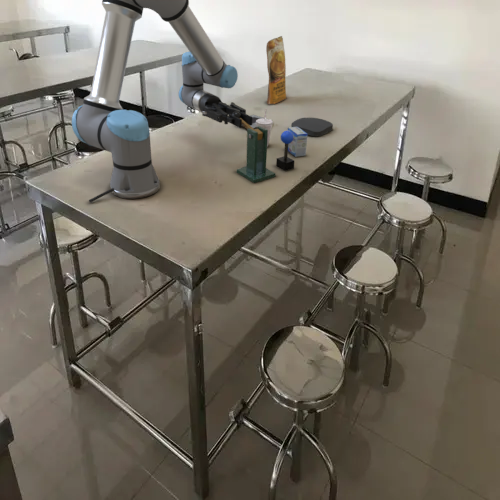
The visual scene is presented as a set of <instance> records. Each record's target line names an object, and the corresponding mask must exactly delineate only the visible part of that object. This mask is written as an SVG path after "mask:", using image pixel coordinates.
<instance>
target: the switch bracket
mask: <svg viewBox="0 0 500 500" xmlns="http://www.w3.org/2000/svg"><path fill="white" fill-rule="evenodd" d="M256 129H259V130H260V131H261V132H263V136H262V139H261V140H258V132H256V131H254V130H252V129H250V128H249V129H247V128H246V164H245V165H246V166H243V167H239V168H237V169H236V173H237V174H239V175H240V176H242V177H244V179H247V180H248V181H250V182H252V183H253V184H256V183H259V182H262V181H265V180H270V179H272V178H275V177H276V172H274V171H272V170H270V169H269V168H267V156H268V155H267V154H268V147H267V137H268V130H267V129H265V128H263V127H261V126H257V128H256Z"/></svg>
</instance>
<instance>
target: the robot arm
mask: <svg viewBox="0 0 500 500" xmlns="http://www.w3.org/2000/svg"><path fill="white" fill-rule="evenodd" d="M101 5H102V7H103V9H104V11H105V16H104V20H103V24H102V29H101V36H100V42H99V46H98V51H97V57H96V63H95V67H94V73H93V79H92V82H91V89H90V93H89V95H87V96H85V97H84V98H83V102H82V105H80V106H78V107H77V108H76V109H75V110H74V111H73V113H72V117H71V128H72V131H73V133H74V135H75V136H76V138H77V139H78V140H79V141H81V142H82V143H85V145H88V146H89V147H94V148H98V149H100V150H102V151H105V152H109V153H110V154H111V158H112V160H111V161H112V167H113V168H112V172H111V176H110V182H109V189H108V190H106V191H104V192H101V193H100V194H98V195H96V196H94V197H92V198H91V199H89V200H88V202H89V203H92V202H94V201H96V200H98V199H100V198H102V197H103V196H106V195H108V194H110V193H111V194H112V195H114V196H115V197H118V198H122V199H127V200H128V199H129V200H134V199H135V200H136V199H143V198H147V197H150V196H152V195H154V194H156V193H158V191H159V190H160V188H161V184H160V183H161V182H160V181H161V180H160V178H159V176H158V173H157V172H156V170H155V168H154V165H153V159H152V147H151V131H150V127H149V121H148V119H147V117H146V116H145V115H144V114H142V113H141V112H139V111H137V110H132V109H129V110H127V109H124V108H123V106H122V105H121V103H120V100H121V99H120V98H121V94H122V90H123V83H124V80H125V74H126V69H127V64H128V59H129V54H130V49H131V46H132V45H131V44H132V39H133V34H134V29H135V25H136V22H137V21H138V20H140V19H141V18H143V12H144V9H148V10H151V11H153V12H155V13H156V14H158V16H159V17H160V19H161V20H162V21H164V22H167V23H169V25H170V26H171V28H172V29H173V31H174V32H175V33H176V35H177V36H178V38H179V39H180V40H181V42H182V43H183V44H184V46H185V47H186V49H187V50H188V51H185V52H183V53H182V55H181V72H182V73H181V74H182V85H181V86H180V88H179V91H178V98H179V100H180V101H181V102H182V103H183V104H184V105H185V106H187V107H189V108H192V109H194V110H196V111H198V112H200V113H201V114H202V115H201V116H202V117H206V118H209V119H211V120H212V121H215V122H217V123H223V122H224V124H223V125H228V124H231V125H233V126H235V127H237V128H239V129H241V128H243V126H242V119H243V120H244V121H245V122H246V123H247V124H249V125H252V117H251V116H250V114H247V109H245V108H243V107H242V106H240V105H237V104H236V103H235V102H230V103H229V104H227V103H226V102H224V101H222V100H221V98H220V97H219V96H217V95H215V94H213V93H211V92H209V91H206V90H204V84H207V85H210V86H215V87H218V88H221V89H223V88H224V89H232V88H234V86H236V83H237V81H238V76H239V75H238V70H237V68H236V67H234V66H233V65H231V64H227V63H226V62H225V61H224V59H223V57H222V56H221V53H219V51H218V50H217V48H216V46H215V45H214V43H213V42H212V40H211V39H210V37H209V36H208V34H207V32H206V30H205V29H204V28H203V26H202V25H201V23H200V22H199V20H198V18H197V17H196V15H195V13H194V12H193V11H192V9H191V7H190V6H189V5H190V0H101ZM233 112H239V113H240V114H241V116H242V119H240V118H238V117H236V116H234V115H232V113H233Z"/></svg>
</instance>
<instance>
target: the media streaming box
mask: <svg viewBox="0 0 500 500" xmlns="http://www.w3.org/2000/svg"><path fill="white" fill-rule="evenodd" d="M290 127H299V128H300V129H302V130H303V131H304V132H306V133H307V134H308V136H310V137H321V136H324V135H326V134H328V133H330V132H331V131H333V128H334V124H333V123H332V122H331V121H328V120H326V119H323V118H319V117H300V118H297V119H295V120H294V121H292V123H291V126H290Z"/></svg>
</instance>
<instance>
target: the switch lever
mask: <svg viewBox="0 0 500 500" xmlns="http://www.w3.org/2000/svg"><path fill="white" fill-rule="evenodd" d="M232 115H234V116H236V117H238V118H240V119H242V116H241V114H240V113H239V112H233V113H232ZM242 125H243V126H244V127H245V129H246V130H247V129H249V128H250V129H252V130H254V131H256V132H258V140H261V139H262V136H263V132H261V131H260V130H259V129H257V128H255V129H253V128H252V127H251V126H250V125H249V124H247V123H246V122H245V121H244V120H243V119H242ZM243 126H242V127H243ZM244 127H243V128H244Z"/></svg>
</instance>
